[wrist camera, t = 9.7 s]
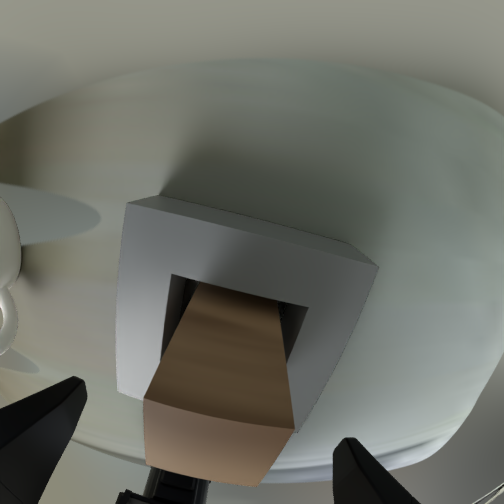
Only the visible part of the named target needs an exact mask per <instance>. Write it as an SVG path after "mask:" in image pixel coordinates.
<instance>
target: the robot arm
mask: <svg viewBox="0 0 504 504" xmlns="http://www.w3.org/2000/svg"><path fill="white" fill-rule="evenodd" d="M86 401H87V391H86V385H85V381H84V380H83V379H80V378H78V377H76V376H72V377H70V378H68V379H66V380H63V381H61V382H59V383H57V384H55V385H53V386H50V387H48V388H46V389H44V390H42V391H39V392H37V393H35V394H33V395H30V396H28V397H26V398H24V399H21V400H19V401H17V402H15V403H12V404H10V405H8V406H5V407H3V408H1V409H0V504H38V502H39V500H40V498H41V496H42V494H43V492H44V489H45V487H46V485H47V483H48V481H49V479H50V477H51V475H52V473H53V471H54V469H55V467H56V465H57V463H58V461H59V460H60V458H61V456H62V454H63V452H64V450H65V448H66V446H67V445H68V443H69V441H70V439H71V437H72V435H73V433H74V431H75V428H76V426H77V423H78V421H79V418H80V416H81V413H82V411H83V409H84V406H85V404H86ZM210 482H211V481H210V480H205V479H200V478H195V477H191V476H186V475H182V474H178V473H174V472H170V471H167V470H163V469H160V468H156V467H153V466H151V470H150V473H149V477H148V480H147V483H146V486H145V490H144V493H143V496H142V495H139V494H136V493H133V492H132V491H130V490H127V489H126V490H125V492H124V493H123V492H120V493H119V495H118V498H117V501H116V504H206V500H207V493H208V486H209V483H210ZM333 496H334V504H421V503H419V502H418V501H417V500H416V499H415V498H414V497H412V495H411V494H410V493H409V492H408V491H407V490H406V489H405V488H404V487H403V486H402V485H401V484H400V483H399V482H398V481H397V480H396V479H395V478H394V477H393V476H392V475H391V474H390V473H389V472H388V471H387V470H386V469H385V468H384V467H383V466H382V465H381V464H380V463H379V462H378V461H377V460H376V459H375V458H374V457H373V456H372V455H371V454H370V453H369V452H368V451H367V450H366V448H365V447H364V446H363V445H362V444H361V443H360V442H359V441H358V440H357V439H356V438H353V437H346V438H344V439H342V441H341V442H340V443H339V444H338V446H337V447H336V448H335V449H334V452H333Z"/></svg>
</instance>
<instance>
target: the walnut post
mask: <svg viewBox="0 0 504 504" xmlns="http://www.w3.org/2000/svg"><path fill="white" fill-rule="evenodd" d="M143 412H144V441H145V457H146V465H150V466H153V467H156V468H160V469H163V470H167V471H170V472H174V473H178V474H182V475H186V476H191V477H195V478H200V479H205V480H210V481H216V482H222V483H229V484H236V485H244V486H254V487H257V486H258V484H259V483H260V482H261V480H262V479H263V478H264V476H265V475H266V473H267V472H268V470H269V469H270V468H271V466H272V465H273V463H274V462H275V460H276V459H277V457H278V456H279V454H280V452H281V451H282V449H283V448H284V446H285V445H286V443H287V441H288V440H289V438H290V437H291V435H292V433H293V432H294V430H295V425H294V417H293V409H292V402H291V395H290V387H289V380H288V373H287V366H286V359H285V352H284V345H283V338H282V331H281V324H280V317H279V311H278V304H277V300H274V299H270V298H265V297H261V296H257V295H253V294H249V293H245V292H240V291H236V290H232V289H228V288H224V287H220V286H216V285H212V284H209V283H205V282H201V281H200V283H199V285H198V287H197V288H196V290H195V292H194V294H193V296H192V298H191V300H190V302H189V304H188V306H187V308H186V310H185V312H184V314H183V316H182V318H181V320H180V322H179V324H178V326H177V328H176V330H175V332H174V334H173V336H172V339H171V341H170V343H169V345H168V347H167V349H166V351H165V353H164V355H163V357H162V359H161V361H160V363H159V366H158V368H157V370H156V372H155V374H154V376H153V378H152V380H151V382H150V385H149V387H148V389H147V391H146V393H145V395H144V398H143Z"/></svg>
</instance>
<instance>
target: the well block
mask: <svg viewBox="0 0 504 504" xmlns="http://www.w3.org/2000/svg"><path fill="white" fill-rule="evenodd" d="M378 269H379V266H377V265H376V264H375V263H374V262H372V261H371V260H370V259H369V258H367V257H366V256H365V255H364V254H362V253H361V252H360V251H359V250H357V249H356V248H355V247H354V246H352V245H351V244H347V243H344V242H341V241H337V240H334V239H330V238H326V237H323V236H319V235H316V234H312V233H308V232H305V231H301V230H298V229H294V228H290V227H286V226H283V225H279V224H275V223H271V222H267V221H264V220H260V219H256V218H252V217H248V216H244V215H240V214H236V213H232V212H228V211H224V210H220V209H216V208H212V207H207V206H203V205H199V204H195V203H191V202H186V201H182V200H178V199H173V198H169V197H164V196H160V195H157V196H152V197H148V198H144V199H140V200H136V201H132V202H128V203H127V204H126V210H125V217H124V224H123V232H122V240H121V249H120V258H119V270H118V283H117V301H116V371H117V389H118V392H120V393H123V394H125V395H128V396H131V397H134V398H137V399H139V400H142V401H143V398H144V395H145V393H146V391H147V389H148V387H149V385H150V382H151V380H152V378H153V376H154V374H155V372H156V370H157V368H158V366H159V363H160V361H161V359H162V357H163V355H164V353H165V351H166V349H167V347H168V345H169V343H170V341H171V339H172V336H173V334H174V332H175V330H176V328H177V326H178V324H179V318H180V312H181V306H182V300H183V294H184V289H185V283H186V278H190V279H193V280H197V281H201V282H205V283H209V284H212V285H216V286H220V287H224V288H228V289H232V290H236V291H240V292H245V293H249V294H253V295H257V296H261V297H265V298H270V299H274V300H278V301H283V302H287V306H286V309H285V312H284V315H283V318H282V321H281V331H282V338H283V345H284V352H285V359H286V366H287V373H288V380H289V387H290V395H291V402H292V409H293V417H294V425H295V430H294V432H293V433H298V431H299V430H300V428H301V427H302V425H303V423H304V422H305V420H306V418H307V417H308V415H309V413H310V412H311V410H312V408H313V407H314V405H315V403H316V402H317V400H318V398H319V396H320V395H321V393H322V391H323V389H324V387H325V386H326V384H327V382H328V380H329V378H330V376H331V374H332V372H333V371H334V369H335V367H336V365H337V363H338V361H339V359H340V357H341V355H342V353H343V351H344V349H345V347H346V344H347V342H348V340H349V338H350V336H351V334H352V332H353V329H354V327H355V325H356V323H357V321H358V318H359V316H360V314H361V311H362V309H363V307H364V304H365V302H366V299H367V297H368V294H369V292H370V289H371V287H372V284H373V282H374V279H375V277H376V274H377V271H378Z"/></svg>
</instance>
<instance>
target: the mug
mask: <svg viewBox="0 0 504 504" xmlns="http://www.w3.org/2000/svg"><path fill="white" fill-rule="evenodd" d="M20 265H21V243H20V236H19V232H18V228H17V224H16V221H15V218H14V216H13V214H12V212H11V210H10V208H9V207H8V205H7V204H6V202H5V201H4V200H3V199H2V198H1V197H0V307H1V309H2V312H3V317H4V322H3V326H2V328H1V330H0V355H1V354H3V353H4V352H5V351H6V350H7V349H8V348H9V347H10V346H11V344H12V343H13V341H14V339H15V336H16V333H17V328H18V313H17V308H16V305H15V302H14V300H13V297H12V295H11V293H10V291H9V288H10V287H11V286H12V285H13V284H14V283H15V281H16V279H17V277H18V275H19V271H20Z"/></svg>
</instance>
